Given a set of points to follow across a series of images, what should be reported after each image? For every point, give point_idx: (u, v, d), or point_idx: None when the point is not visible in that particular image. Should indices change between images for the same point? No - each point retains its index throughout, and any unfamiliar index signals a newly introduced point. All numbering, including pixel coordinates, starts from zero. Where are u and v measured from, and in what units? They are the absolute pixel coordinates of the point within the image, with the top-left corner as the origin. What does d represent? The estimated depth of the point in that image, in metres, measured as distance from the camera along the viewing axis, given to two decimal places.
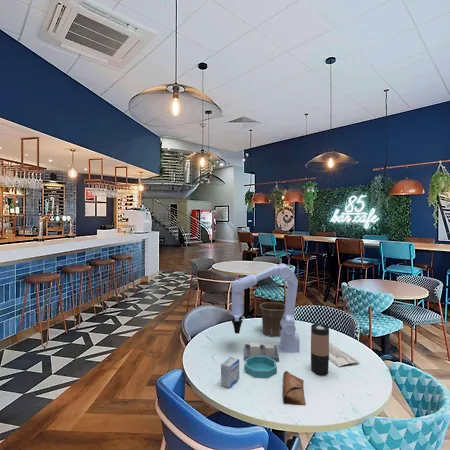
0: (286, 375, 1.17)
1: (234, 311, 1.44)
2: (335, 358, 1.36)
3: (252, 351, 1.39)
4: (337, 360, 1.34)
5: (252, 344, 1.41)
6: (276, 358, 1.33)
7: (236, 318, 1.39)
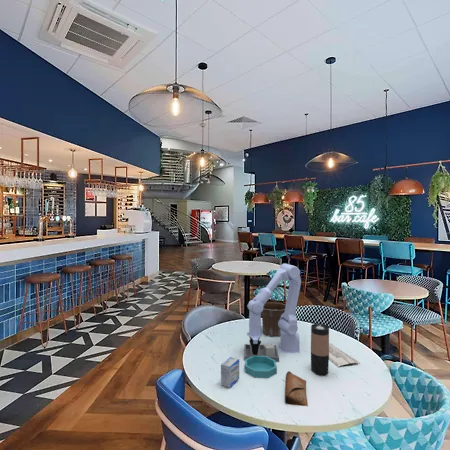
0: (289, 375, 1.16)
1: (252, 332, 1.38)
2: (335, 358, 1.36)
3: None
4: (337, 360, 1.34)
5: None
6: (276, 358, 1.33)
7: (255, 341, 1.33)
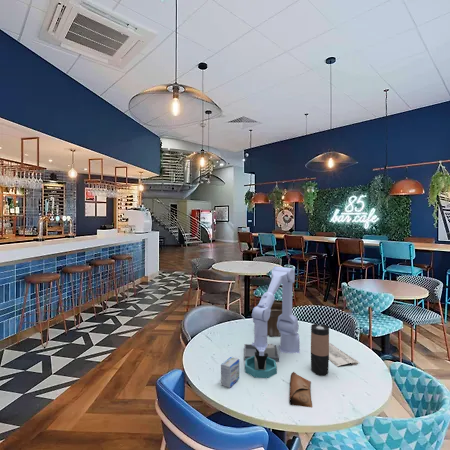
0: (293, 376, 1.16)
1: (258, 342, 1.24)
2: (334, 358, 1.36)
3: (257, 366, 1.24)
4: (336, 360, 1.34)
5: None
6: (276, 358, 1.33)
7: (261, 352, 1.19)
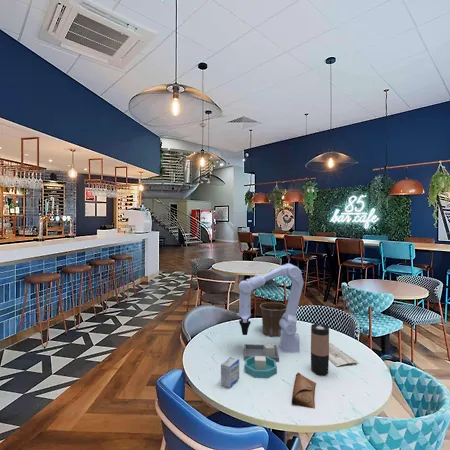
0: (298, 377, 1.16)
1: (242, 312, 1.41)
2: (334, 358, 1.36)
3: (257, 366, 1.24)
4: (336, 360, 1.34)
5: (257, 358, 1.27)
6: (276, 358, 1.33)
7: (244, 319, 1.36)
